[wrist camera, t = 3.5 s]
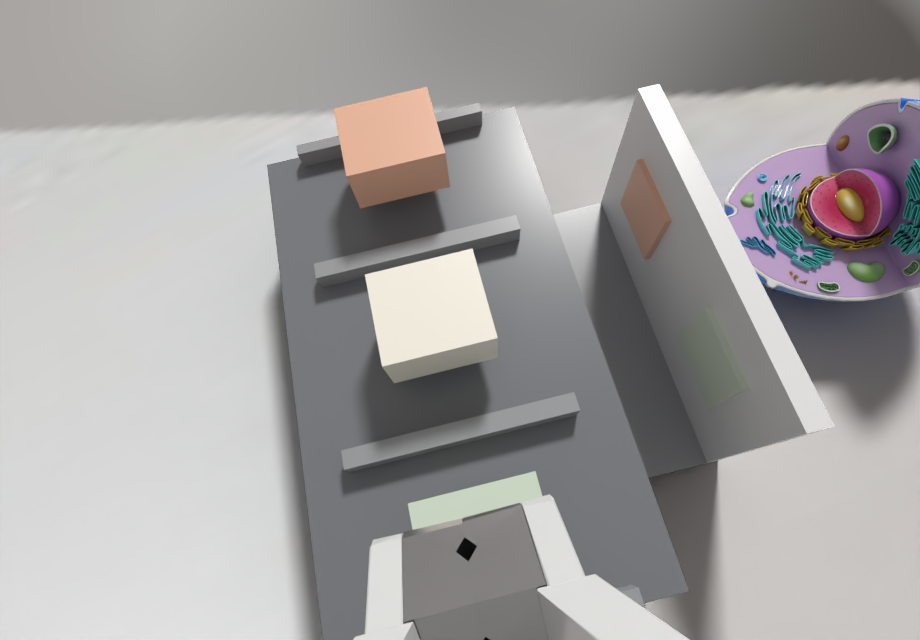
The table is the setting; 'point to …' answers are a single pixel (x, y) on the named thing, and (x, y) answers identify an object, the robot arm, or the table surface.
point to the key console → (530, 348)
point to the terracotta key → (392, 147)
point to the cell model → (838, 209)
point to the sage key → (474, 500)
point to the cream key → (431, 316)
